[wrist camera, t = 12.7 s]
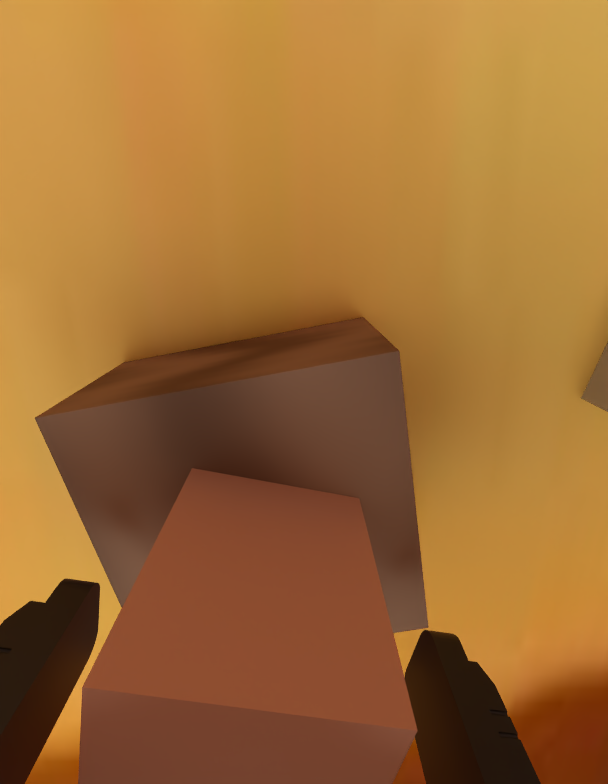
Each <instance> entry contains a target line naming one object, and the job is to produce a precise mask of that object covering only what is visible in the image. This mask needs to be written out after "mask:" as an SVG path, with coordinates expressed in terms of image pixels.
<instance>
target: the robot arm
mask: <svg viewBox="0 0 608 784" xmlns="http://www.w3.org/2000/svg"><path fill="white" fill-rule="evenodd" d="M99 597H100V585H99V583H94V582H87V581H80V580H73V579H64V580H63V581H61V582H60V583H59V585H58V586H57V587H56V589H55V590H54V591H53V593H52V594H51V596H50V597H49V598H48V600H47V601H46V603H42V602H35V601H30V602H28V603H27V604H26V605H24V606H23V607H22V608H20V609H19V610H18V611H16V612H15V613H14V614H12V615H11V616H9V617H8V618H7V619H5V620H4V621H3V623H2V624H1V625H0V784H25V782H26V780H27V778H28V776H29V774H30V772H31V770H32V768H33V766H34V764H35V762H36V760H37V758H38V757H39V755H40V753H41V751H42V749H43V747H44V745H45V743H46V741H47V739H48V737H49V735H50V733H51V731H52V729H53V727H54V725H55V723H56V722H57V720H58V718H59V716H60V714H61V712H62V710H63V708H64V706H65V704H66V702H67V700H68V698H69V696H70V694H71V692H72V690H73V688H74V687H75V685H76V683H77V681H78V679H79V677H80V675H81V673H82V671H83V669H84V667H85V665H86V663H87V661H88V659H89V657H90V655H91V652H92V650H93V647H94V644H95V641H96V637H97V632H98V620H99ZM405 682H406V686H407V690H408V694H409V698H410V702H411V706H412V710H413V714H414V718H415V722H416V726H417V730H418V731H417V733H416V735H415V740H416V744H417V748H418V752H419V756H420V760H421V764H422V768H423V772H424V776H425V780H426V784H541V783H540V781H539V779H538V777H537V775H536V773H535V770H534V768H533V766H532V764H531V762H530V760H529V757H528V755H527V753H526V751H525V749H524V747H523V744H522V742H521V740H519V739H518V737H517V731H516V729H515V727H514V725H513V723H512V721H511V719H510V717H508V716H507V710H506V708H505V706H504V703H503V701H502V699H501V697H500V695H499V693H498V690H497V688H496V686H495V685H494V683H493V682H492V681H491V679H490V678H489V677H488V676H487V674H486V673H485V672H484V671H483V669H482V668H481V667H480V665H479V664H478V663H477V662H472V661H468V659H467V656H466V654H465V652H464V649H463V647H462V645H461V642H460V640H459V639H458V637H457V636H456V635H454V634H450V633H443V632H436V631H428V630H424V631H423V632H422V633H421V635H420V638H419V640H418V643H417V645H416V647H415V650H414V652H413V655H412V657H411V659H410V662H409V664H408V667H407V669H406V672H405Z"/></svg>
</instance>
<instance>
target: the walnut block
mask: <svg viewBox="0 0 608 784" xmlns="http://www.w3.org/2000/svg"><path fill="white" fill-rule="evenodd" d="M35 420H36V422H37V424H38V426H39V428H40V431H41V433H42V435H43V437H44V439H45V441H46V444H47V446H48V448H49V450H50V452H51V455H52V457H53V459H54V461H55V463H56V465H57V468H58V470H59V472H60V474H61V476H62V478H63V481H64V483H65V485H66V487H67V489H68V492H69V494H70V496H71V498H72V500H73V502H74V505H75V507H76V509H77V511H78V513H79V516H80V518H81V520H82V522H83V524H84V526H85V529H86V531H87V533H88V535H89V537H90V540H91V542H92V544H93V546H94V548H95V550H96V553H97V555H98V557H99V559H100V561H101V563H102V566H103V568H104V570H105V572H106V574H107V577H108V579H109V581H110V583H111V585H112V587H113V590H114V592H115V594H116V596H117V598H118V601H119V603H120V605H121V607H123V605H124V603H125V601H126V599H127V597H128V595H129V593H130V591H131V589H132V587H133V585H134V583H135V581H136V579H137V577H138V575H139V573H140V571H141V569H142V567H143V565H144V563H145V561H146V559H147V557H148V555H149V553H150V551H151V549H152V547H153V545H154V543H155V541H156V539H157V537H158V535H159V533H160V531H161V529H162V527H163V525H164V523H165V521H166V519H167V517H168V515H169V513H170V511H171V509H172V507H173V505H174V503H175V501H176V499H177V497H178V495H179V493H180V491H181V489H182V487H183V485H184V483H185V481H186V479H187V477H188V475H189V473H190V471H191V469H192V468H194V469H200V470H205V471H211V472H217V473H222V474H228V475H233V476H239V477H244V478H250V479H255V480H261V481H266V482H272V483H278V484H283V485H289V486H294V487H300V488H305V489H311V490H316V491H322V492H328V493H333V494H339V495H344V496H350V497H355V498H359V499H360V503H361V507H362V511H363V515H364V519H365V523H366V527H367V531H368V535H369V539H370V543H371V547H372V551H373V555H374V559H375V563H376V567H377V571H378V575H379V579H380V583H381V587H382V591H383V595H384V599H385V603H386V607H387V611H388V615H389V619H390V623H391V627H392V631H393V633H396V632H402V631H409V630H416V629H422V628H428V620H427V610H426V601H425V591H424V582H423V572H422V563H421V553H420V544H419V534H418V525H417V515H416V506H415V496H414V487H413V477H412V468H411V458H410V449H409V439H408V430H407V420H406V411H405V401H404V392H403V382H402V373H401V363H400V354H399V350H398V349H397V348H396V347H395V346H393V345H392V344H391V343H390V342H389V341H388V340H387V339H386V338H385V337H384V336H383V335H382V334H381V333H380V332H378V331H377V330H376V329H375V328H374V327H373V326H372V325H371V324H370V323H369V322H368V321H367V320H366V319H365V318H363V317H362V318H357V319H351V320H346V321H341V322H336V323H330V324H325V325H320V326H314V327H309V328H304V329H299V330H293V331H288V332H283V333H277V334H272V335H267V336H262V337H256V338H251V339H246V340H240V341H235V342H230V343H225V344H219V345H214V346H209V347H203V348H198V349H193V350H188V351H182V352H177V353H172V354H166V355H161V356H156V357H151V358H145V359H140V360H135V361H129V362H124V363H122V364H121V365H119V366H117V367H116V368H114V369H113V370H111V371H109V372H108V373H106V374H105V375H103V376H101V377H100V378H98V379H97V380H95V381H93V382H92V383H90V384H89V385H87V386H85V387H84V388H82V389H81V390H79V391H77V392H76V393H74V394H73V395H71V396H69V397H68V398H66V399H65V400H63V401H61V402H60V403H58V404H56V405H55V406H53V407H52V408H50V409H48V410H47V411H45V412H44V413H42V414H40V415H39V416H37V417H36V418H35Z"/></svg>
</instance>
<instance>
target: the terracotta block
mask: <svg viewBox="0 0 608 784" xmlns="http://www.w3.org/2000/svg"><path fill="white" fill-rule="evenodd" d="M417 731H418V730H417V726H416V722H415V718H414V714H413V710H412V706H411V702H410V698H409V694H408V690H407V686H406V682H405V678H404V674H403V670H402V666H401V662H400V659H399V655H398V651H397V647H396V643H395V639H394V635H393V631H392V627H391V623H390V619H389V615H388V611H387V607H386V603H385V599H384V595H383V591H382V587H381V583H380V579H379V575H378V571H377V567H376V563H375V559H374V555H373V551H372V547H371V543H370V539H369V535H368V531H367V527H366V523H365V519H364V515H363V511H362V507H361V503H360V499H359V498H355V497H350V496H344V495H339V494H333V493H328V492H322V491H316V490H311V489H305V488H300V487H294V486H289V485H283V484H278V483H272V482H266V481H261V480H255V479H250V478H244V477H239V476H233V475H228V474H222V473H217V472H211V471H205V470H200V469H194V468H192V469H191V471H190V473H189V475H188V477H187V479H186V481H185V483H184V485H183V487H182V489H181V491H180V493H179V495H178V497H177V499H176V501H175V503H174V505H173V507H172V509H171V511H170V513H169V515H168V517H167V519H166V521H165V523H164V525H163V527H162V529H161V531H160V533H159V535H158V537H157V539H156V541H155V543H154V545H153V547H152V549H151V551H150V553H149V555H148V557H147V559H146V561H145V563H144V565H143V567H142V569H141V571H140V573H139V575H138V577H137V579H136V581H135V583H134V585H133V587H132V589H131V591H130V593H129V595H128V597H127V599H126V601H125V603H124V605H123V607H122V609H121V611H120V613H119V615H118V617H117V619H116V621H115V623H114V625H113V627H112V629H111V631H110V633H109V635H108V637H107V639H106V641H105V643H104V645H103V647H102V649H101V651H100V653H99V655H98V657H97V659H96V661H95V663H94V665H93V667H92V669H91V671H90V673H89V675H88V677H87V679H86V681H85V683H84V685H83V687H82V709H81V733H80V757H79V780H78V784H392V783H393V781H394V779H395V777H396V774H397V772H398V770H399V768H400V766H401V764H402V762H403V760H404V758H405V756H406V754H407V752H408V750H409V747H410V745H411V743H412V741H413V739H414V737H415V735H416V733H417Z"/></svg>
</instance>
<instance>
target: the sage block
mask: <svg viewBox="0 0 608 784" xmlns="http://www.w3.org/2000/svg"><path fill="white" fill-rule="evenodd" d="M581 399H583V400H585V401H587V402H589V403H591V404H593V405H595V406H597V407H599V408H601V409H603V410H605V411H607V412H608V343H607V345H606V347H605V349H604V351H603V353H602V355H601V357H600V359H599V361H598V364H597V366H596V368H595V370H594V372H593V374H592V376H591V378H590V380H589V383H588V385H587V387H586V389H585V391H584V393H583V395H582V397H581Z"/></svg>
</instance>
